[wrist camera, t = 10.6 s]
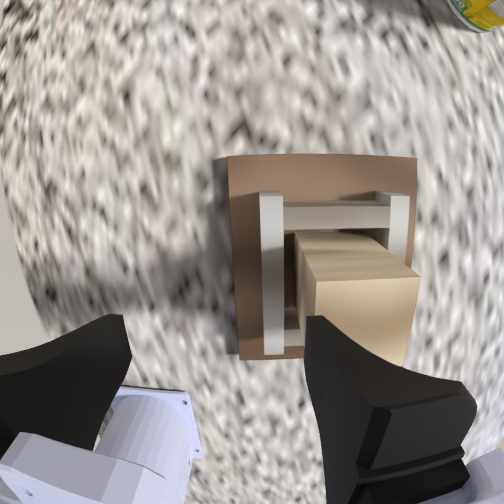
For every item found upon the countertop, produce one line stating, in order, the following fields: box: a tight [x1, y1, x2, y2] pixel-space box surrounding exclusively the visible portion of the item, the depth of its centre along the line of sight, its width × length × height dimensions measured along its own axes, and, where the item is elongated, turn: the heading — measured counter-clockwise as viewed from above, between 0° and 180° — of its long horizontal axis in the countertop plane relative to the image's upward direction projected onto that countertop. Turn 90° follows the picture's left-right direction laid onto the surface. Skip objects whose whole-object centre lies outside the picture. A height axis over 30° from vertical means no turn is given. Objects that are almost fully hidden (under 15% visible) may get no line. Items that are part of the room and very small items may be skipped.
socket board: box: [227, 154, 417, 360], centre depth 19 cm, size 14×12×4 cm
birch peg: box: [293, 231, 420, 366], centre depth 16 cm, size 4×4×8 cm
